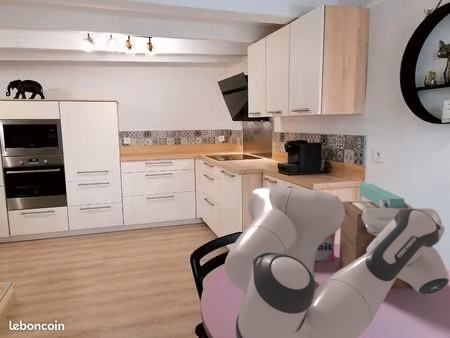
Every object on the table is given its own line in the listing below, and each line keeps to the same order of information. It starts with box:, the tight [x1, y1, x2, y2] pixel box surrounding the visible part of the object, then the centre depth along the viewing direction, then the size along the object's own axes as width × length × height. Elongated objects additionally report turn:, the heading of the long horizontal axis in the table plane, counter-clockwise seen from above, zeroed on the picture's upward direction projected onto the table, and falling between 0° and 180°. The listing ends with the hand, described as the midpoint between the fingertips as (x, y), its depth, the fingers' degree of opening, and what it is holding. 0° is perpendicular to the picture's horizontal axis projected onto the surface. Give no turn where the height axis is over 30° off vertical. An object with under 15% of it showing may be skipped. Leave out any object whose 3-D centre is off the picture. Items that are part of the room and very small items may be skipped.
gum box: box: [315, 232, 336, 262], centre depth 143 cm, size 24×8×14 cm, turn 87°
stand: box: [338, 201, 414, 289], centre depth 124 cm, size 22×18×26 cm
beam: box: [359, 183, 405, 208], centre depth 112 cm, size 4×26×4 cm, turn 177°
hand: (391, 201), depth 103 cm, fingers closed on beam, 4 cm apart
